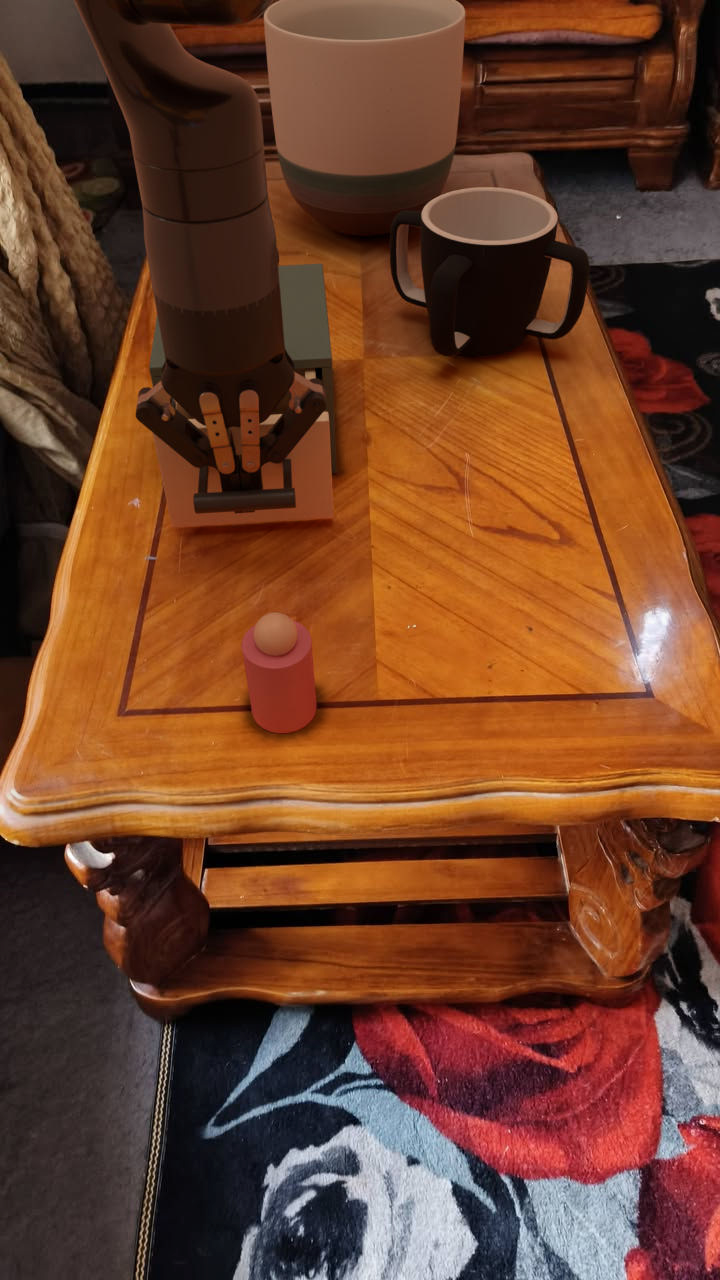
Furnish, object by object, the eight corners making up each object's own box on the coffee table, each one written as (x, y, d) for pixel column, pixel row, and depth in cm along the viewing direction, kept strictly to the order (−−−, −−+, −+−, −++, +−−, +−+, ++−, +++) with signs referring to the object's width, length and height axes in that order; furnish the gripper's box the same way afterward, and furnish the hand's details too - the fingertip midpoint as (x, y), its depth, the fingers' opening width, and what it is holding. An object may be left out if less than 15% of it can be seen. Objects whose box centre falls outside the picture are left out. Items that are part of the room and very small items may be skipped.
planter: (262, 258, 106) (242, 37, 91) (299, 185, 120) (286, -17, 105) (445, 268, 104) (456, 43, 88) (461, 193, 118) (473, -13, 102)
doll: (251, 735, 60) (237, 647, 54) (251, 685, 63) (238, 596, 57) (317, 731, 60) (311, 642, 55) (315, 681, 63) (308, 591, 57)
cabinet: (336, 473, 79) (331, 357, 71) (171, 482, 78) (148, 367, 71) (327, 372, 90) (322, 263, 82) (182, 380, 89) (163, 270, 81)
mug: (584, 372, 89) (606, 244, 80) (415, 389, 88) (418, 261, 79) (535, 290, 100) (550, 170, 91) (384, 304, 99) (384, 184, 90)
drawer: (337, 560, 70) (332, 462, 64) (167, 570, 70) (146, 472, 63) (324, 412, 84) (320, 319, 77) (182, 420, 83) (165, 327, 77)
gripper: (95, 311, 54) (149, 545, 66) (330, 299, 54) (339, 534, 67) (108, 252, 59) (156, 479, 71) (323, 241, 59) (333, 469, 72)
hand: (245, 505), depth 69 cm, fingers closed
